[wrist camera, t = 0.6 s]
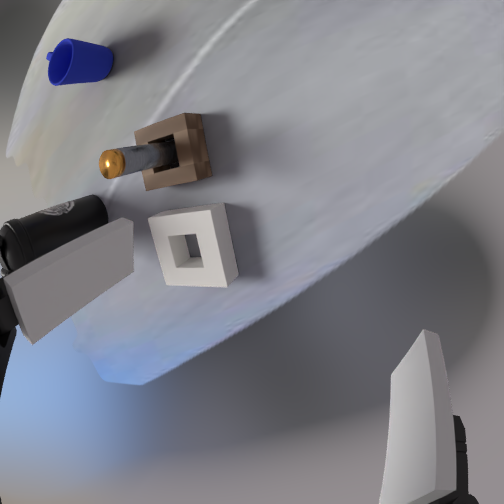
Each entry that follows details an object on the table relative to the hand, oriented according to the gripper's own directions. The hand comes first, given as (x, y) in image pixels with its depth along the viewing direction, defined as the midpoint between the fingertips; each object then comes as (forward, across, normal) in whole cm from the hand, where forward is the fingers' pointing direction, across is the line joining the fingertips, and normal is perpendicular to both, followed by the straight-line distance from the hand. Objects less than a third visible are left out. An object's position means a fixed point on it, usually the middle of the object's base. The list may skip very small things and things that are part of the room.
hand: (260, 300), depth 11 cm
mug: (+26, -44, +14) cm, 53 cm away
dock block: (+26, -16, -14) cm, 33 cm away
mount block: (+26, -22, -1) cm, 34 cm away
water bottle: (+26, -41, -16) cm, 51 cm away
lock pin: (+26, -22, -1) cm, 34 cm away
